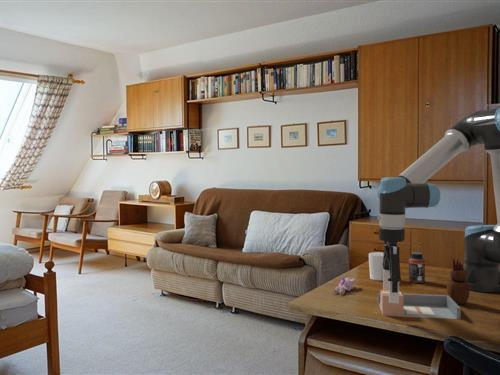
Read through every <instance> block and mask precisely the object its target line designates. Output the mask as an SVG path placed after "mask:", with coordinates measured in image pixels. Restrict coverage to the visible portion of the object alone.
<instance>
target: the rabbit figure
mask: <svg viewBox="0 0 500 375" xmlns="http://www.w3.org/2000/svg"><path fill="white" fill-rule="evenodd" d="M355 281H356V278H352V279H351V278H349V277H346V278H345V277H343V276H342V277H341V280H340V282H339V284H338V286H333V292H332V295H338V296H340V297H342V296H343V295H344V294H345V293H346V292H349V291H351V290H352V289H353V285H354V284H355Z"/></svg>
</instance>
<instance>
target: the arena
mask: <svg viewBox="0 0 500 375" xmlns="http://www.w3.org/2000/svg"><path fill="white" fill-rule="evenodd" d="M402 294H403V296H404V297H403V316H402V317H403V318H404V317H405V318H427V319H429V318H430V319H449V320H450V319H452V320H453V319H455V320H461V314H462V313H461V309H462V308H461V307H460V306H459V304H456V303H455V302H454V301H453V300H452V299H451V297H450V296H449V295H448V294H446V295H445V294H418V293H402ZM377 304H378V306H379V308H380V292H378V293H377ZM382 316H384V317H397V316H396V315H383V314H382Z"/></svg>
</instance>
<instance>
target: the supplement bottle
mask: <svg viewBox="0 0 500 375" xmlns="http://www.w3.org/2000/svg"><path fill="white" fill-rule="evenodd" d="M425 275H426V260H425V259H424V257H423V252H418V251H417V252H415V251H413V252H411V257H410V258H409V259H408V281H409V282H411V283H413V284H423V283H425V280H426V276H425Z"/></svg>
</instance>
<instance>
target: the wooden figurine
mask: <svg viewBox="0 0 500 375" xmlns="http://www.w3.org/2000/svg"><path fill="white" fill-rule="evenodd" d="M461 263H462V262H460V261H459V259H458V258H457V259H456V260H455V258H454V257H453V258H452V269H451V270H450V271H449V277H450V279H449V280H448V282H446V283H447V284H446V293H447V294H446V295H449V296H450V297H451V299H452V300H453V301H454V302H455V303H456V304H457V305H463V304H466V303H467V302H468V300H469V297H470V291H471V290H470V286H469V284H468V282H467V281H464V280H465V279H466V277H467V273H466V271H465V270H464V268H463V267H464V264H463V263H462V264H461Z"/></svg>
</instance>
